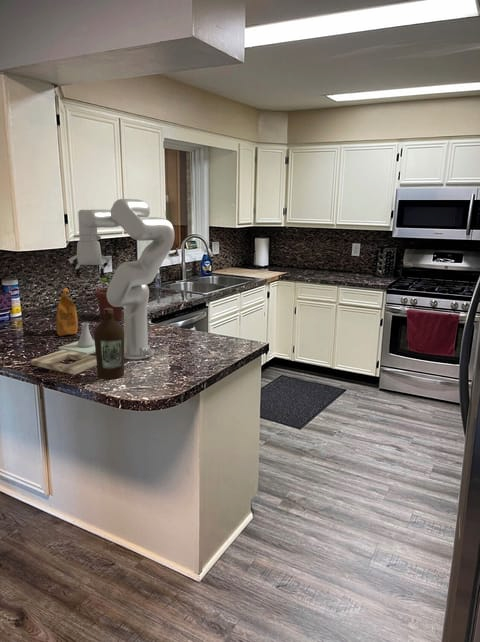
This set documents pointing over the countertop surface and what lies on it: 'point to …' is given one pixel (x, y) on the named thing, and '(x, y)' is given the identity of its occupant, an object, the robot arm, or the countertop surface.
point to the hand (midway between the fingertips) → (90, 277)
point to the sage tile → (78, 348)
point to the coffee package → (66, 316)
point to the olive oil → (109, 347)
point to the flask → (85, 337)
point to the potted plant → (107, 304)
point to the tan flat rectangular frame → (73, 368)
